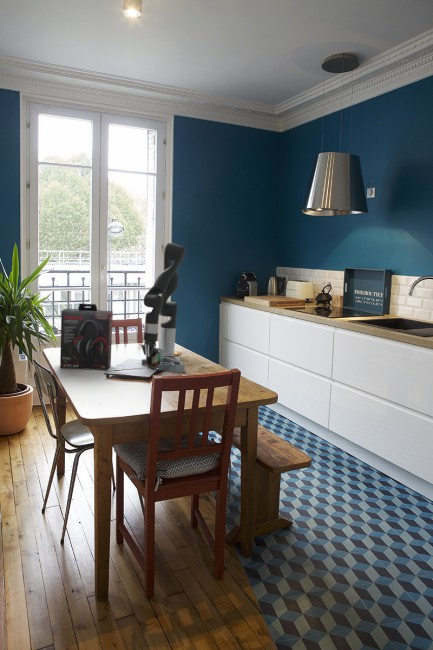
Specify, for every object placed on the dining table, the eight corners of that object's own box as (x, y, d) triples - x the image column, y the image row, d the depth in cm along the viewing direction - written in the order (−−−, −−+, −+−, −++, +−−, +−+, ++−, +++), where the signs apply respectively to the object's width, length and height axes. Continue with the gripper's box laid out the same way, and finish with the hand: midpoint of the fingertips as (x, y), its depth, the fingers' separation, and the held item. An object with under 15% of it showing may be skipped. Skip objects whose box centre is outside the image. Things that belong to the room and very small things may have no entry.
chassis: (141, 364, 278) (141, 357, 277) (165, 362, 289) (165, 355, 289) (168, 373, 261) (169, 366, 260) (192, 370, 272) (193, 363, 272)
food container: (166, 369, 271) (169, 351, 271) (157, 369, 267) (160, 350, 266) (152, 364, 280) (155, 347, 279) (143, 364, 276) (146, 346, 275)
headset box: (58, 368, 255) (60, 303, 251) (63, 363, 267) (66, 301, 264) (107, 370, 257) (111, 306, 254) (110, 365, 270) (113, 304, 266)
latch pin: (171, 363, 268) (171, 352, 267) (177, 362, 271) (178, 352, 270) (176, 364, 265) (177, 354, 264) (182, 364, 268) (183, 353, 267)
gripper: (138, 330, 272) (135, 361, 273) (152, 333, 262) (150, 366, 264) (149, 330, 277) (147, 361, 278) (164, 333, 267) (161, 365, 269)
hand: (148, 363), depth 271 cm, fingers closed
